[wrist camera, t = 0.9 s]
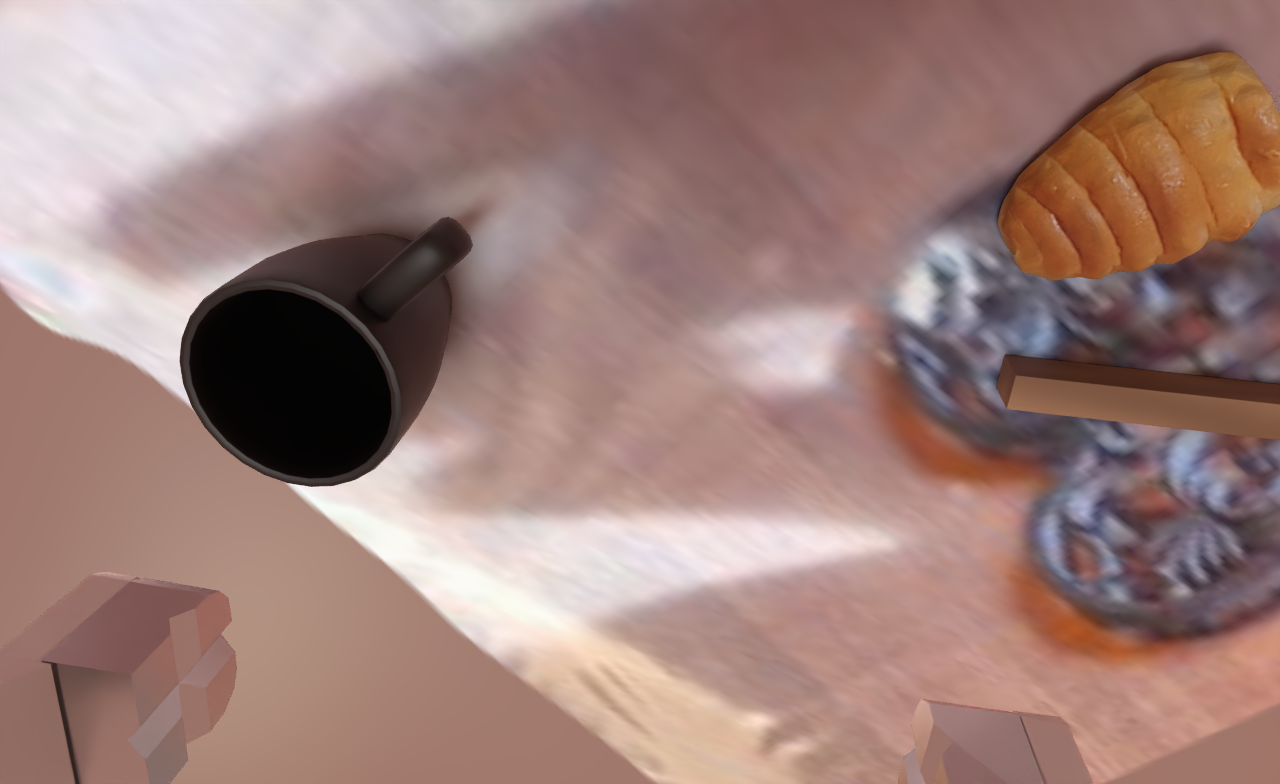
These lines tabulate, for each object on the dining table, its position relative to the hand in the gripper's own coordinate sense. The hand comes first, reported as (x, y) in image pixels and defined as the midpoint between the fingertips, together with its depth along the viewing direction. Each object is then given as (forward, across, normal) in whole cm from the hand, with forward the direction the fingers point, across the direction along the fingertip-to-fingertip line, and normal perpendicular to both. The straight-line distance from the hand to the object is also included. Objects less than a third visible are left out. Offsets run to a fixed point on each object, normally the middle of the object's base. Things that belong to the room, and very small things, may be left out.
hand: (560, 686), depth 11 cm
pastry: (+28, -16, -3) cm, 33 cm away
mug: (+29, +12, +4) cm, 32 cm away
